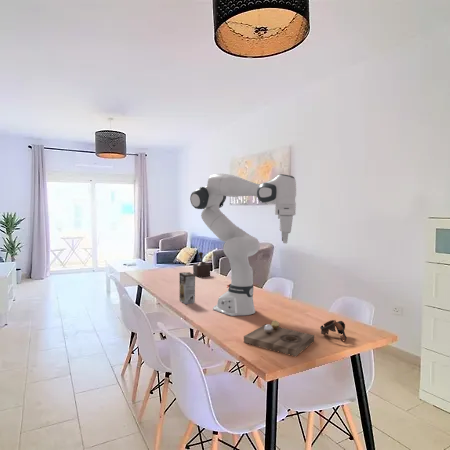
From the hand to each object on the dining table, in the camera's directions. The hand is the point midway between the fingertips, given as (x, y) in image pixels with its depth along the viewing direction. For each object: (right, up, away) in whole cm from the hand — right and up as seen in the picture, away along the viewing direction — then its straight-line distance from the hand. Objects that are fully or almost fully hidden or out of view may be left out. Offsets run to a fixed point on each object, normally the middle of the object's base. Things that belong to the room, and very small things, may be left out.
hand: (284, 242), depth 150 cm
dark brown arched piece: (+19, -39, -9) cm, 45 cm away
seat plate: (-5, -39, -15) cm, 42 cm away
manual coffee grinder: (-46, -33, +121) cm, 134 cm away
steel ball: (-9, -35, -13) cm, 38 cm away
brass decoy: (-5, -34, -8) cm, 36 cm away
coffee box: (-48, -36, +43) cm, 74 cm away
